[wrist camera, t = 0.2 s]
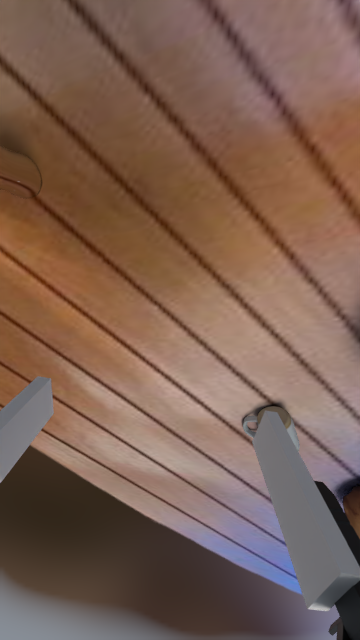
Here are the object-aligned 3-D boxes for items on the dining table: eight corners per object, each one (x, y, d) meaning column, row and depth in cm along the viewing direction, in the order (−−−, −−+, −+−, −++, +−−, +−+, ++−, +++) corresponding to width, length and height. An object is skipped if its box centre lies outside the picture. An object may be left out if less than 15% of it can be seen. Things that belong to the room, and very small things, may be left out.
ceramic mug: (282, 399, 47) (299, 428, 40) (289, 425, 49) (306, 456, 42) (237, 411, 49) (245, 441, 41) (246, 435, 51) (255, 466, 44)
